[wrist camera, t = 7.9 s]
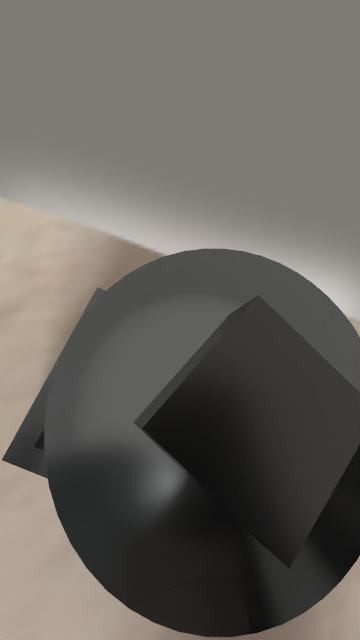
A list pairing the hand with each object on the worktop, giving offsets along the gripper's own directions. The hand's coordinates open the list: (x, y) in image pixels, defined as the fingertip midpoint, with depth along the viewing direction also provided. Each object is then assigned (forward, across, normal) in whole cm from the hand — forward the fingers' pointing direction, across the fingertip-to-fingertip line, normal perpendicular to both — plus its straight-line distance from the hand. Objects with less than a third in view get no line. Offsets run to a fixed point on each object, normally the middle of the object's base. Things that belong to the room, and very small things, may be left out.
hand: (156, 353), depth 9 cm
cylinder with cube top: (+5, 0, +7) cm, 8 cm away
